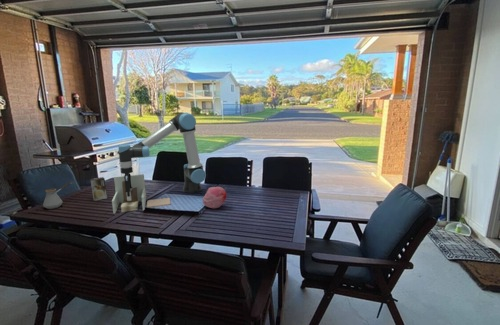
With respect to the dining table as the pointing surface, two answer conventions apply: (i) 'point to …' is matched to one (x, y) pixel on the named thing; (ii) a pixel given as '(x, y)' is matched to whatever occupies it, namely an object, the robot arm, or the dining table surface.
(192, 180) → the robot arm
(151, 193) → the dining table surface
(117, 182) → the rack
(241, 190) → the dining table surface
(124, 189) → the wooden block
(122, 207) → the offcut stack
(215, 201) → the decorative rock
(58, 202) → the coffee pot
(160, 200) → the tile
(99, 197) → the coffee box
